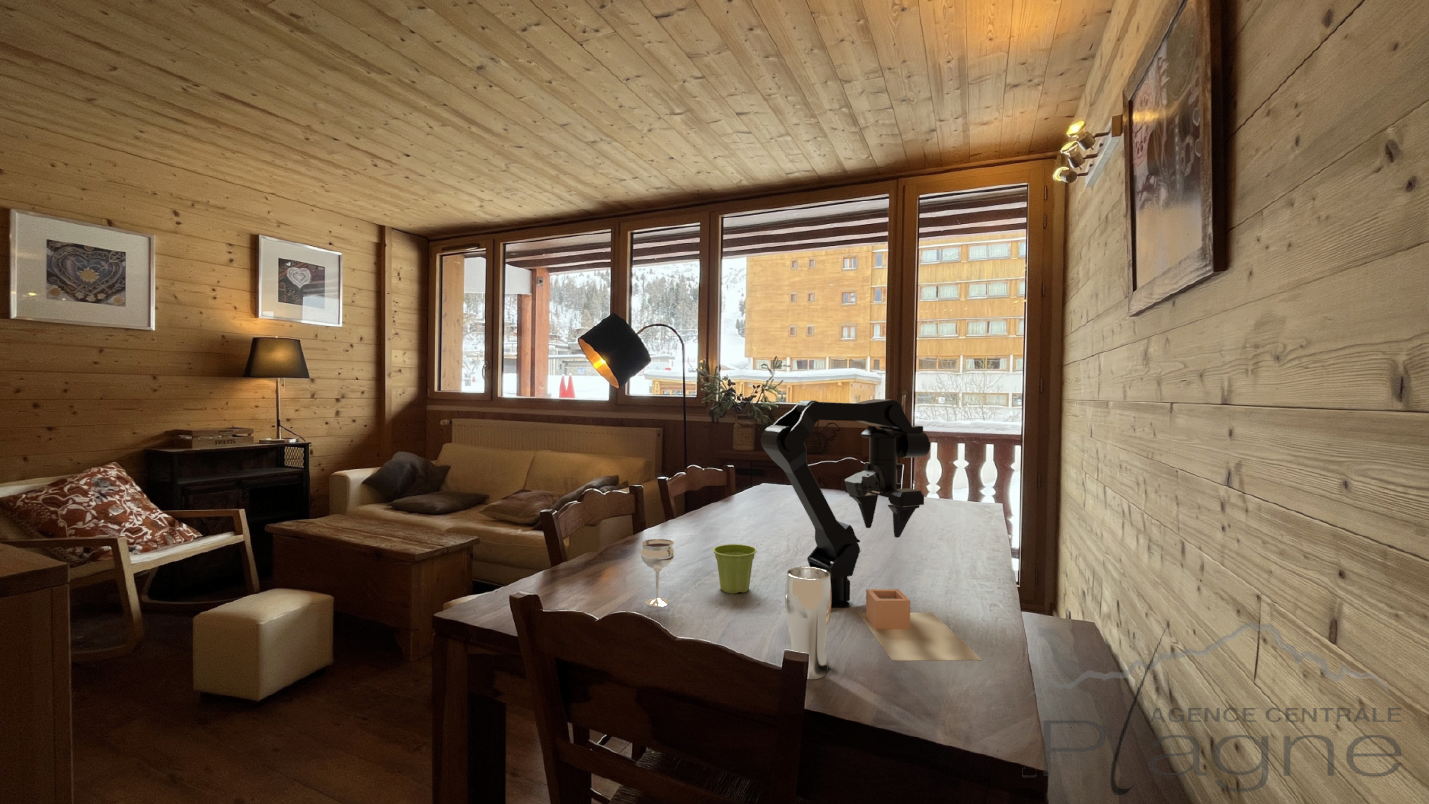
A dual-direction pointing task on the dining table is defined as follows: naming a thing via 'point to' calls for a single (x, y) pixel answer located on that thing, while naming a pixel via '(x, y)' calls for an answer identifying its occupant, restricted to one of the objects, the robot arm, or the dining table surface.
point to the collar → (887, 609)
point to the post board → (921, 640)
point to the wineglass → (657, 562)
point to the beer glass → (809, 614)
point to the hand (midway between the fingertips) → (882, 532)
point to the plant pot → (734, 566)
